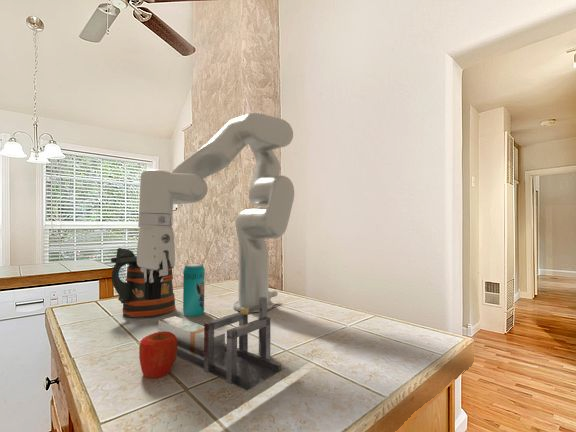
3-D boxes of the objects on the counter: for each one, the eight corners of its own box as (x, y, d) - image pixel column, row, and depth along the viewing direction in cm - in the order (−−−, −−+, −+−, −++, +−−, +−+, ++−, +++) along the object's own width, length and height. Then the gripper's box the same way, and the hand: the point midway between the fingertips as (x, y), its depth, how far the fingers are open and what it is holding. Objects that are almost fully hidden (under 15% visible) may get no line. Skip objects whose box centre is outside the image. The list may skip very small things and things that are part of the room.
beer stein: (134, 326, 79) (135, 249, 80) (96, 319, 85) (97, 247, 85) (185, 307, 97) (185, 244, 97) (150, 303, 102) (151, 243, 103)
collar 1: (243, 357, 61) (243, 311, 61) (247, 359, 60) (247, 312, 60) (203, 375, 53) (204, 323, 54) (208, 378, 53) (208, 324, 53)
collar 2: (265, 366, 57) (265, 316, 57) (270, 368, 56) (270, 317, 56) (226, 387, 50) (226, 330, 50) (231, 389, 49) (231, 332, 49)
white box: (158, 338, 68) (158, 320, 68) (174, 333, 71) (175, 316, 71) (208, 360, 57) (208, 339, 57) (225, 353, 60) (225, 333, 60)
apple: (174, 385, 50) (174, 339, 51) (134, 389, 49) (134, 342, 49) (179, 367, 56) (180, 326, 57) (143, 370, 55) (144, 329, 55)
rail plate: (181, 333, 74) (181, 325, 74) (283, 374, 54) (283, 362, 54) (145, 345, 67) (145, 336, 67) (247, 396, 47) (247, 383, 47)
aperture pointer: (262, 356, 61) (262, 296, 61) (268, 359, 60) (268, 297, 60) (239, 368, 56) (239, 302, 56) (245, 370, 55) (245, 304, 55)
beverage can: (198, 321, 83) (198, 266, 84) (179, 319, 85) (179, 265, 85) (207, 314, 89) (208, 263, 89) (189, 313, 90) (190, 263, 91)
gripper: (187, 222, 72) (184, 301, 71) (155, 222, 81) (152, 292, 80) (156, 221, 66) (153, 307, 65) (125, 221, 75) (122, 296, 74)
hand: (152, 298), depth 72 cm, fingers closed
